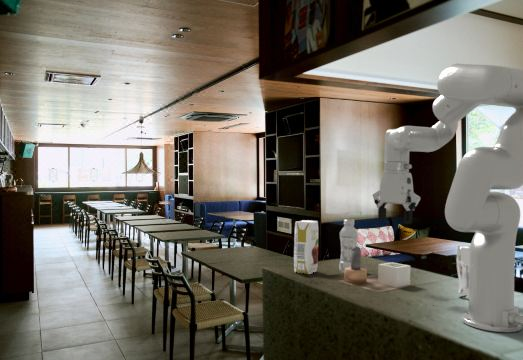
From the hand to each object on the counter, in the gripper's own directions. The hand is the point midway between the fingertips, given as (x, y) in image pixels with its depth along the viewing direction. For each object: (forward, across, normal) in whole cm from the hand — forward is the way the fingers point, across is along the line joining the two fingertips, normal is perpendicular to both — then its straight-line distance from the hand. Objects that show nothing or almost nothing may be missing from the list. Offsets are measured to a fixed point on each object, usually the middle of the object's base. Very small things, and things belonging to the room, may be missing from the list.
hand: (394, 221), depth 137 cm
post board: (+21, +4, +4) cm, 22 cm away
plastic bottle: (+22, +22, -4) cm, 32 cm away
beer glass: (+21, -20, -10) cm, 30 cm away
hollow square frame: (+20, 0, 0) cm, 20 cm away
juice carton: (+22, +34, +7) cm, 41 cm away
